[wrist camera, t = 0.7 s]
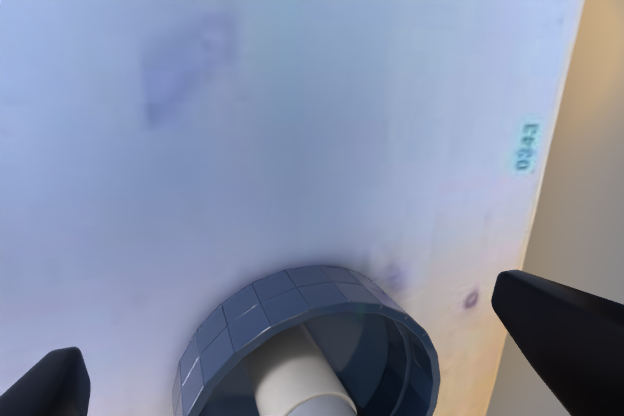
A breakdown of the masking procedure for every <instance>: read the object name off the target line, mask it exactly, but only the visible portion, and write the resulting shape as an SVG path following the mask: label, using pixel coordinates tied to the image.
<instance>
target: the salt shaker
mask: <svg viewBox="0 0 624 416" xmlns="http://www.w3.org/2000/svg"><path fill="white" fill-rule="evenodd" d="M242 360H243V363H244V367H245V370H246V373H247V377H248V380H249V383H250V387H251V390H252V394H253V397H254V400H255V404H256V407H257V410H258V414H259V416H358V415H357V411H356V407H355V404H354V403H353V401H352V399H351V398H350V396H349V394H348V393H347V391H346V390H345V388H344V386H343V385H342V383H341V381H340V380H339V378H338V376H337V375H336V373H335V371H334V370H333V368H332V367H331V365H330V363H329V362H328V360H327V358H326V357H325V355H324V353H323V352H322V350H321V348H320V347H319V345H318V344H317V342H316V340H315V339H314V337H313V335H312V334H311V332H310V330H309V329H308V327H307V326H306V324H305V323H304V322H302V323H300V324H297V325H295V326H293V327H291V328H288V329H286V330H284V331H282V332H279V333H277V334H275V335H274V336H272V337H271V338H270V339H268V340H267V341H265V342H264V343H263V344H261V345H260V346H258V347H257V348H256V349H254V350H253V351H252V352H250V353H249V354H247V355H246V356H245V357H243V358H242Z"/></svg>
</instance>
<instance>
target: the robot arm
mask: <svg viewBox="0 0 624 416" xmlns="http://www.w3.org/2000/svg"><path fill="white" fill-rule="evenodd" d="M491 303H492V307H493V309H494V311H495V313H496V314H497V316H498V317H499V319H500V320H501V322H502V323H503V325H504V326H505V328H506V329H507V331H508V332H509V333H510V335H511V336H512V338H513V339H514V341H515V342H516V344H517V345H518V347H519V348H520V350H521V351H522V353H523V354H524V356H525V357H526V359H527V360H528V361H529V363H530V364H531V366H532V367H533V368H534V370H535V371H536V372H537V374H538V375H539V376H540V377H541V379H542V380H543V381H544V382H545V383H546V385H547V386H548V387H549V389H550V390H551V391H552V392H553V394H554V395H555V396H556V397H557V399H558V400H559V401H560V402H561V403H562V405H563V406H564V407H565V409H566V410H567V411H568V412H569V413H570V415H571V416H624V305H623V304H620V303H617V302H614V301H611V300H608V299H605V298H602V297H599V296H596V295H593V294H590V293H587V292H583V291H580V290H578V289H575V288H572V287H569V286H566V285H562V284H559V283H556V282H553V281H550V280H547V279H544V278H541V277H538V276H535V275H532V274H529V273H526V272H523V271H520V270H509V271H503V272H501V273H500V274H499V275H498V277H497V280H496V284H495V287H494V291H493V295H492V299H491ZM89 398H90V379H89V375H88V372H87V369H86V366H85V363H84V359H83V356H82V353H81V351H80V350H79V348H77V347H69V348H63V349H57V350H53V351H51V352H49V353H48V354H47V355H46V356H45V357H43V358H42V359H41V360H40V361H39V362H38V363H37V364H36V365H35V366H33V367H32V368H31V369H30V370H29V371H28V372H27V373H26V374H25V375H24V376H22V377H21V378H20V379H19V380H18V381H17V382H16V383H15V384H14V385H13V386H11V387H10V388H9V389H8V390H7V391H6V392H5V393H4V394H3V395H2V396H0V416H87V412H88V405H89Z"/></svg>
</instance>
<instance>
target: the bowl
mask: <svg viewBox="0 0 624 416" xmlns="http://www.w3.org/2000/svg"><path fill="white" fill-rule="evenodd" d="M302 322H304V323H305V324H306V326H307V327H308V329H309V330H310V332H311V334H312V335H313V337H314V339H315V340H316V342H317V344H318V345H319V347H320V348H321V350H322V352H323V353H324V355H325V357H326V358H327V360H328V362H329V363H330V365H331V367H332V368H333V370H334V371H335V373H336V375H338V376H340V377H341V378H342V379H344V381H345V382H346V383H347V385H348V387H349V388H350V390H351V391H352V393H353V395H354V396H355V398H356V399H357V401H358V403H359V404H360V406H361V407H362V409H363V411H364V412H365V414H366V415H367V416H432V415H433V413H434V410H435V408H436V405H437V398H438V392H439V385H440V371H439V362H438V355H437V352H436V350H435V348H434V346H433V344H432V342H431V340H430V338H429V336H428V333H427V332H426V331H425V330H424V329H423V328H422V327H421V326H420V325H419V324H418V323H417V322H416V321H415V320H414V319H413V318H411V317H410V316H409V315H408V314H407V313H406V312H405V311H404V310H403V309H402V308H401V307H400V306H398V305H397V304H396V303H395V302H394V301H393V300H392V299H391V298H390V297H389V296H388V295H386V294H385V293H384V292H383V291H382V290H381V289H380V288H379V287H378V286H377V285H376V284H375V283H373V282H372V281H371V280H370V279H369V278H366V277H364V276H362V275H359V274H357V273H355V272H353V271H350V270H348V269H343V268H335V267H326V266H309V267H302V268H295V269H288V270H283V271H281V272H278V273H276V274H273V275H271V276H268V277H266V278H263V279H261V280H258V281H256V282H253V283H252V284H250V285H248V286H247V287H246V288H244V289H243V290H241V291H240V292H238V293H237V294H235V295H234V296H232V297H231V298H229V299H228V300H227V301H225V302H224V303H222V304H221V305H220V306H219V307H218V308H217V309H216V310H215V311H214V312H213V313H212V314H211V315H210V316H209V318H208V319H207V320H206V321H205V322H204V323H203V324H202V325H201V326H200V327H199V328H198V329H197V332H196V333H195V334H194V336H193V338H192V340H191V342H190V344H189V345H188V347H187V349H186V351H185V353H184V354H183V356H182V358H181V360H180V362H179V365H178V370H177V374H176V379H175V383H174V387H173V416H259V414H258V410H257V407H256V404H255V400H254V397H253V394H252V390H251V387H250V383H249V380H248V377H247V373H246V370H245V367H244V363H243V360H242V358H243V357H245V356H246V355H247V354H249V353H250V352H252V351H253V350H254V349H256V348H257V347H258V346H260V345H261V344H263V343H264V342H265V341H267V340H268V339H270V338H271V337H272V336H274V335H275V334H277V333H279V332H282V331H284V330H286V329H288V328H291V327H293V326H295V325H297V324H300V323H302Z"/></svg>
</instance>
